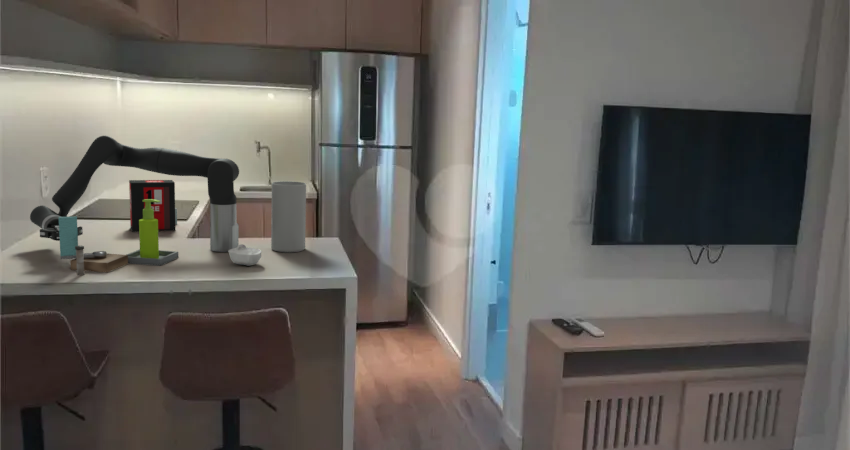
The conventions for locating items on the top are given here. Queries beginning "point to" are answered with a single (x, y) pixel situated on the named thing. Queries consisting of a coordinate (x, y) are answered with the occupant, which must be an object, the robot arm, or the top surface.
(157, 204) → the cleaning product box
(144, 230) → the soap dispenser
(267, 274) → the top surface
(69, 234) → the teal upright panel
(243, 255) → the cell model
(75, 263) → the crank base
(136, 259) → the tray
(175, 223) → the right angle wall
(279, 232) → the cylinder vase
